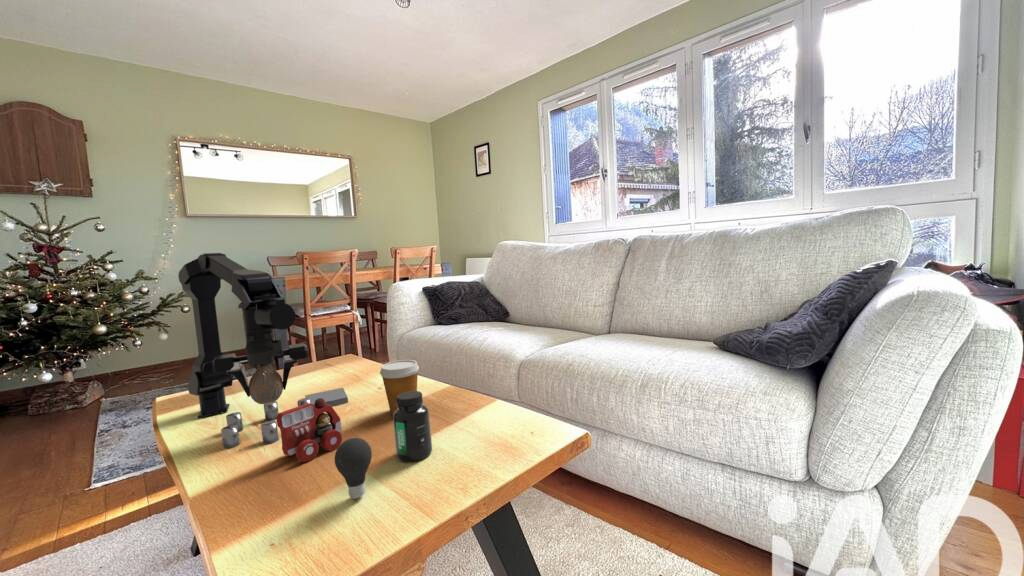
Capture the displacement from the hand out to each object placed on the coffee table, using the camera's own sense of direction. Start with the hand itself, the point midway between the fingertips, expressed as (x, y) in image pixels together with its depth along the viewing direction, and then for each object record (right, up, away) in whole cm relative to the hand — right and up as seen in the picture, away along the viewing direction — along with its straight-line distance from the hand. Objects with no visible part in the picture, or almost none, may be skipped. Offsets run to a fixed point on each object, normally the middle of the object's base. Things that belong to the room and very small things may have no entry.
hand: (267, 392), depth 97 cm
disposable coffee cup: (+30, -7, +7) cm, 32 cm away
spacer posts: (+1, -9, +1) cm, 9 cm away
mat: (+6, -7, +18) cm, 20 cm away
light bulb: (+32, -10, -30) cm, 45 cm away
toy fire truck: (+17, -9, -12) cm, 23 cm away
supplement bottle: (+38, -8, -16) cm, 42 cm away
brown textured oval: (0, -2, 0) cm, 2 cm away
